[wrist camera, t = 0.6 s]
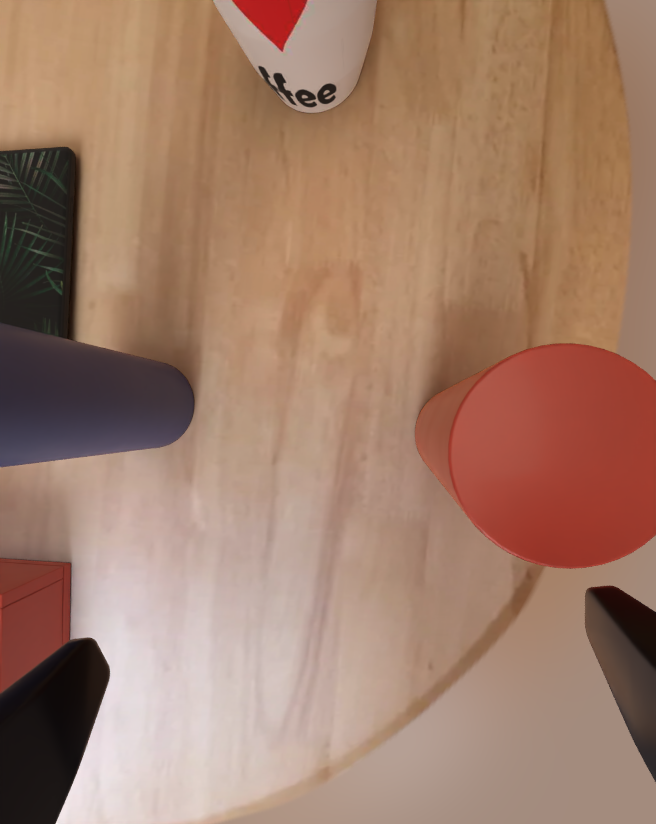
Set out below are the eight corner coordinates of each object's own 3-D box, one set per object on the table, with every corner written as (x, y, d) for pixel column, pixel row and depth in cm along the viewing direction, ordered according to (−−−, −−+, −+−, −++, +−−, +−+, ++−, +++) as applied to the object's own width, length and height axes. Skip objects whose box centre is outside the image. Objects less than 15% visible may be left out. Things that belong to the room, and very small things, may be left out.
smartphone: (69, 144, 25) (57, 402, 24) (81, 154, 26) (70, 403, 25) (-34, 151, 26) (-47, 399, 25) (-18, 161, 27) (-31, 400, 26)
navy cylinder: (170, 463, 25) (-70, 512, 12) (100, 423, 25) (-200, 428, 12) (208, 385, 24) (5, 348, 11) (136, 347, 25) (-132, 271, 12)
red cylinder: (485, 499, 22) (619, 612, 9) (398, 454, 23) (409, 500, 10) (531, 413, 22) (735, 405, 9) (442, 370, 22) (512, 305, 10)
